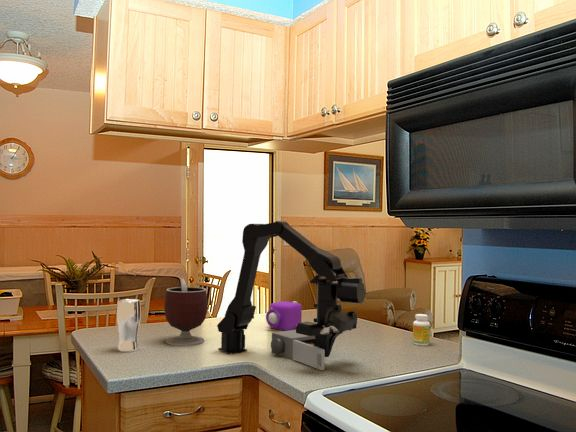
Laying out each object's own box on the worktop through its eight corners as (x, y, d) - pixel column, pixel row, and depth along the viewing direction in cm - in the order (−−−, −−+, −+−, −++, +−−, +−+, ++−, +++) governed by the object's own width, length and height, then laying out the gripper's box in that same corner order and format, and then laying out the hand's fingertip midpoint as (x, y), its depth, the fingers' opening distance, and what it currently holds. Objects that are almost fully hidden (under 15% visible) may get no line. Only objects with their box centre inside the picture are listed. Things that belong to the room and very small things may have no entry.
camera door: (290, 359, 161) (291, 340, 161) (295, 358, 162) (295, 339, 162) (319, 370, 149) (319, 350, 149) (324, 369, 150) (324, 349, 150)
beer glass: (130, 353, 166) (131, 302, 166) (111, 351, 168) (112, 301, 168) (144, 348, 172) (145, 299, 172) (125, 346, 174) (126, 298, 175)
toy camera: (260, 330, 204) (261, 303, 204) (278, 324, 216) (279, 298, 216) (287, 333, 199) (287, 305, 199) (303, 327, 211) (304, 301, 211)
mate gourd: (210, 345, 179) (212, 282, 179) (166, 347, 174) (168, 283, 174) (201, 335, 193) (202, 277, 194) (160, 337, 189) (161, 278, 189)
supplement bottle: (424, 346, 183) (424, 316, 183) (409, 343, 186) (410, 314, 186) (432, 344, 187) (432, 315, 187) (418, 341, 190) (418, 313, 190)
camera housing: (286, 360, 161) (286, 336, 161) (266, 353, 169) (266, 330, 169) (327, 353, 171) (328, 330, 171) (307, 346, 179) (307, 325, 179)
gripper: (324, 307, 143) (323, 368, 143) (371, 300, 155) (370, 357, 155) (294, 302, 151) (294, 359, 151) (342, 296, 164) (341, 350, 164)
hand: (326, 356), depth 155 cm, fingers closed
